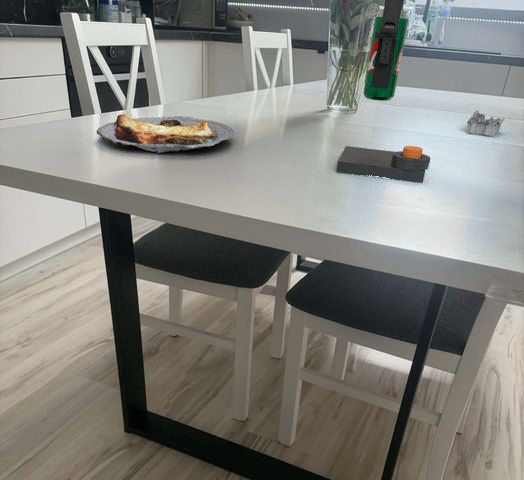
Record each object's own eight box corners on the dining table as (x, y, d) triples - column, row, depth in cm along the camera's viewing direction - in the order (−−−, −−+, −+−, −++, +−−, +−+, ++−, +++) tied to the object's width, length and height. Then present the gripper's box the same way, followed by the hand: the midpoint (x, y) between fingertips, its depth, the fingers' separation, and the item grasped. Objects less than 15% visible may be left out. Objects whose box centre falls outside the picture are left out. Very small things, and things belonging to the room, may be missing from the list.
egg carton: (471, 127, 124) (476, 109, 121) (502, 131, 120) (508, 113, 118) (461, 132, 116) (466, 113, 114) (493, 137, 113) (499, 118, 111)
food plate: (83, 153, 81) (80, 131, 79) (114, 126, 100) (112, 107, 98) (232, 161, 82) (233, 139, 80) (234, 132, 101) (235, 114, 99)
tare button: (420, 157, 79) (422, 147, 78) (420, 161, 76) (423, 151, 76) (401, 154, 79) (403, 144, 78) (401, 159, 77) (403, 148, 76)
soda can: (396, 102, 77) (414, 11, 70) (365, 100, 77) (380, 8, 70) (389, 97, 81) (405, 11, 75) (360, 95, 81) (373, 8, 74)
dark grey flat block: (423, 166, 87) (428, 145, 85) (425, 184, 77) (430, 162, 75) (344, 156, 89) (347, 136, 87) (335, 173, 79) (338, 151, 77)
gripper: (447, -126, 57) (403, 94, 70) (440, -96, 71) (404, 82, 85) (383, -127, 58) (351, 89, 72) (389, -97, 73) (361, 78, 86)
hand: (380, 85), depth 78 cm, fingers closed on soda can, 5 cm apart
